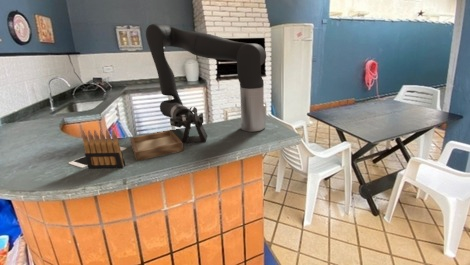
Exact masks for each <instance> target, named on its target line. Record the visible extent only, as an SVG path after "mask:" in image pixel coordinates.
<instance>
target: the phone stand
mask: <svg viewBox="0 0 470 265" xmlns="http://www.w3.org/2000/svg"><path fill="white" fill-rule="evenodd" d="M188 109H189V111H188V112H187V123H186V124H188V123H190V125H192V124H191V120H193V121H194V127H195V129H196V131H197V134H198V135H191V136H190V132H191V131H190V130H191V129H188V128H186V127H184V130H183V135H182V138H181V141H182V143H183V144H197V143H198V144H199V143H206V142H207V138H208V134H207V132H206V130H205V128H204V125H203V124H202V126H201V127H200V126H199V123H198V120H199V117H198V115H199V114H198V109H197V107H195V106H193V107H192V106H191V107H189V108H188ZM190 110H191V111H192V112H193V114H192V113H191V112H190Z"/></svg>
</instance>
